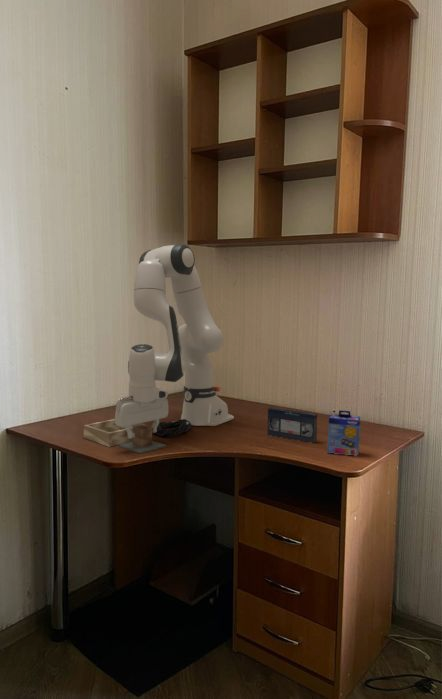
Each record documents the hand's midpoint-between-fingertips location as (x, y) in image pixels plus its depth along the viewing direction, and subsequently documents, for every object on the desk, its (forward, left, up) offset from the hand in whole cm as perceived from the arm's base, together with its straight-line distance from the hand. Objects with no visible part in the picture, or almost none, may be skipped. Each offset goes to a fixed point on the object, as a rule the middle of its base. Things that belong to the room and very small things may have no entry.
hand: (142, 435), depth 181 cm
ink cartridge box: (-42, +51, -4) cm, 66 cm away
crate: (0, -15, -4) cm, 15 cm away
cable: (-19, -8, -4) cm, 21 cm away
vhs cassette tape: (-44, +29, -4) cm, 53 cm away
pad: (0, 0, -4) cm, 4 cm away
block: (0, 0, -3) cm, 3 cm away
